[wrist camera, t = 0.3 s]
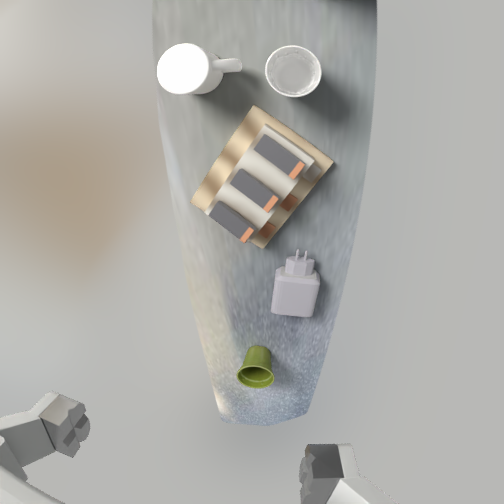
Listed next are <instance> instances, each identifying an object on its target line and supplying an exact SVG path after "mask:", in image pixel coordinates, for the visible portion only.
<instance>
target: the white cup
mask: <svg viewBox="0 0 504 504" xmlns="http://www.w3.org/2000/svg"><path fill="white" fill-rule="evenodd" d="M265 73H266V78H267V80H268V82H269V84H270V85H271V87H272V88H273V89H274V90H276V91H277V92H278V93H280V94H282V95H285V96H288V97H301V96H305V95H307V94H309V93H311V92H312V91H313V90H314V89H315V88H316V87H317V86H318V84H319V82H320V80H321V75H322V70H321V65H320V63H319V61H318V59H317V58H316V56H315V55H314V54H313V53H312V52H310V51H309V50H307V49H305V48H303V47H299V46H285V47H282V48H280V49H278V50H276V51H275V52H274V53H273V54H272V55H271V56H270V57H269V59H268V61H267V63H266V68H265Z"/></svg>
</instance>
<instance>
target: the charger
mask: <svg viewBox="0 0 504 504" xmlns="http://www.w3.org/2000/svg"><path fill="white" fill-rule="evenodd" d="M307 254H308V251H307V250H306V251H305V256H304V257H302V256H299V250H297V252H296V256H290V257H287V259H286V266H281V267H280V268H278V269H276V274H275V282H274V290H273V297H272V306H271V312H272V313H275V314H281V315H290V316H300V317H311V316H313V312H314V308H315V304H316V300H317V296H318V291H319V287H320V276H319V274H318V273H317V271H316V270H314V269H313V268H314V263H315V261H314V260H313V259H310V258H308V257H307Z"/></svg>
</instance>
